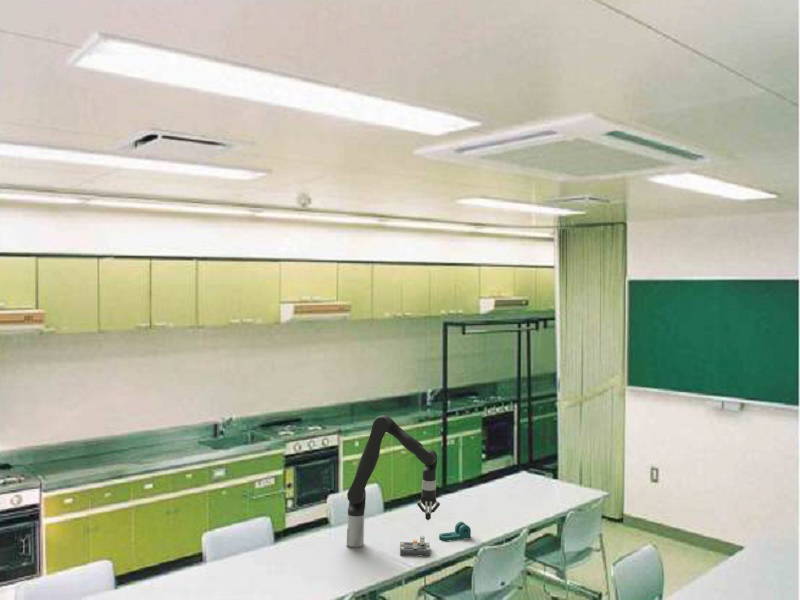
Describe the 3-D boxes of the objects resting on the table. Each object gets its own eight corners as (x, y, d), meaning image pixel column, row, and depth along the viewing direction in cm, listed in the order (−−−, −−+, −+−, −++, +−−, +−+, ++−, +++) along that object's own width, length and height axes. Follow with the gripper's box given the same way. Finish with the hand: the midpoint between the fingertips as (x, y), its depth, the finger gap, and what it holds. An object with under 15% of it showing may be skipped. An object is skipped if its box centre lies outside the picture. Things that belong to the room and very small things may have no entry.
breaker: (420, 544, 377) (420, 537, 377) (419, 542, 380) (420, 535, 380) (424, 544, 377) (424, 537, 377) (424, 542, 380) (424, 535, 380)
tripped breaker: (412, 548, 371) (413, 541, 371) (412, 546, 374) (413, 539, 374) (417, 548, 371) (417, 541, 371) (417, 546, 374) (417, 539, 374)
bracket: (465, 534, 404) (465, 521, 404) (470, 538, 398) (470, 525, 398) (437, 537, 398) (437, 524, 398) (442, 542, 392) (442, 528, 391)
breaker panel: (400, 555, 370) (400, 549, 370) (400, 547, 381) (400, 541, 381) (429, 556, 370) (430, 550, 370) (429, 548, 381) (429, 542, 381)
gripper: (416, 489, 368) (415, 521, 369) (441, 490, 368) (440, 522, 369) (416, 485, 376) (415, 517, 376) (440, 486, 376) (439, 517, 376)
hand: (428, 519), depth 372 cm, fingers closed
